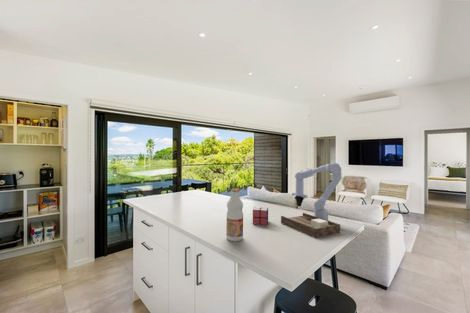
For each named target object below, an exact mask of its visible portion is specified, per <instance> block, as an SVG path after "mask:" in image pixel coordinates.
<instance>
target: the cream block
mask: <svg viewBox="0 0 470 313" xmlns="http://www.w3.org/2000/svg"><path fill="white" fill-rule="evenodd" d="M328 221H329V220H328ZM328 221H325V220H322V219H313V220H311V226H312V227H315V228H321V227H326V226H328Z"/></svg>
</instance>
